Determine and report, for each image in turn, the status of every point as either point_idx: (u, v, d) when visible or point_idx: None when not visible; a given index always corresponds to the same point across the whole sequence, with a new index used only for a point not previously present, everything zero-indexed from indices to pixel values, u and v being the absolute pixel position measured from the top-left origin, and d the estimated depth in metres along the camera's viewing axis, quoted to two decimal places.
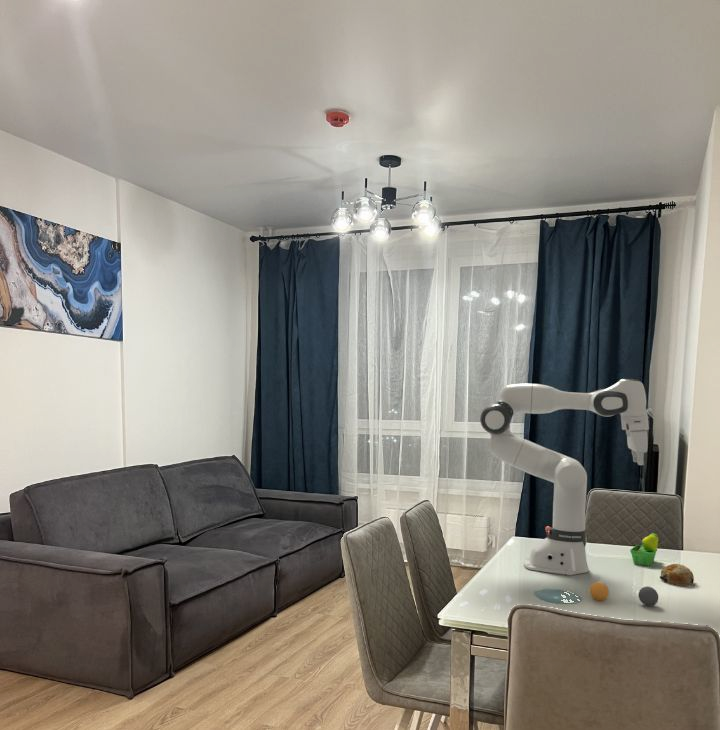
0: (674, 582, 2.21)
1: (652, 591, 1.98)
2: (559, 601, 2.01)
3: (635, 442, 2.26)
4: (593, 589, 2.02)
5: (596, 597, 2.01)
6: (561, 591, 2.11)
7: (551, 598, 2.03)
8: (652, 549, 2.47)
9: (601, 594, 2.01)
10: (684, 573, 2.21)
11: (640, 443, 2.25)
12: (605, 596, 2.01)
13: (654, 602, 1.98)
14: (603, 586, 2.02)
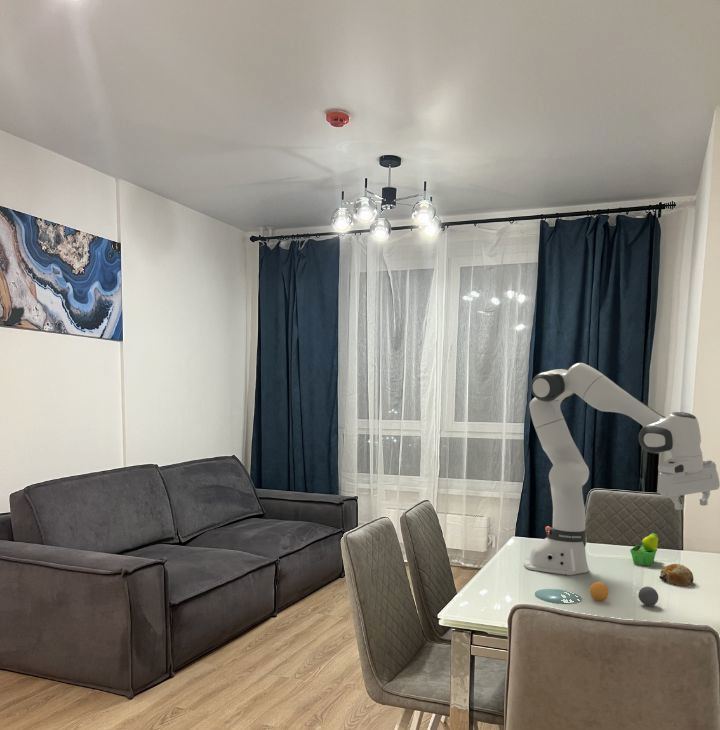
0: (674, 582, 2.22)
1: (652, 591, 1.98)
2: (559, 601, 2.01)
3: (658, 484, 2.09)
4: (593, 589, 2.02)
5: (596, 597, 2.01)
6: (561, 591, 2.11)
7: (551, 598, 2.03)
8: (652, 549, 2.47)
9: (601, 594, 2.01)
10: (684, 573, 2.21)
11: (661, 486, 2.08)
12: (605, 596, 2.01)
13: (654, 602, 1.98)
14: (603, 586, 2.02)
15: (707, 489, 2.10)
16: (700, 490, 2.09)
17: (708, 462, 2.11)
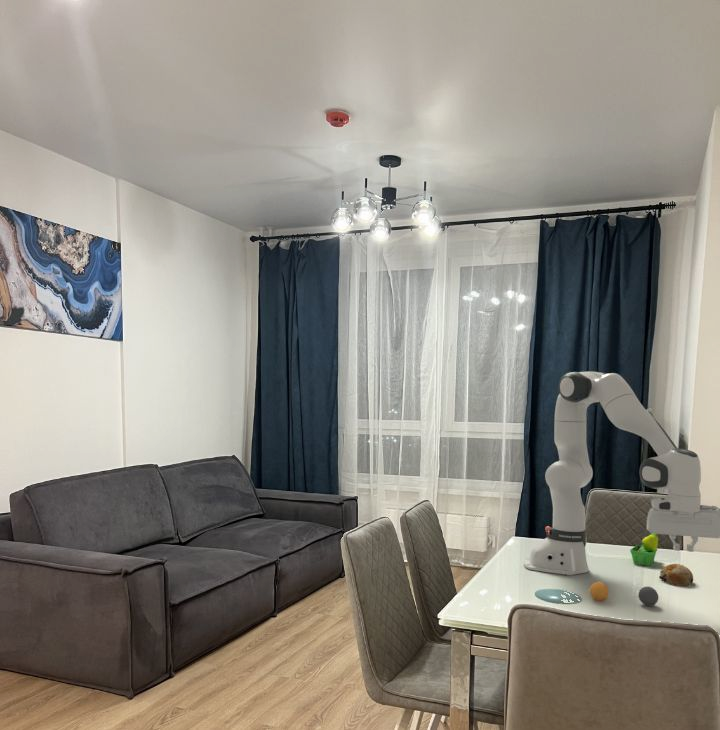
0: (673, 582, 2.22)
1: (652, 591, 1.98)
2: (559, 601, 2.01)
3: (647, 519, 2.02)
4: (593, 589, 2.02)
5: (596, 597, 2.01)
6: (561, 591, 2.11)
7: (551, 598, 2.03)
8: (652, 549, 2.47)
9: (601, 594, 2.01)
10: (683, 573, 2.21)
11: (647, 521, 2.01)
12: (605, 596, 2.01)
13: (654, 602, 1.98)
14: (603, 586, 2.02)
15: (703, 535, 1.95)
16: (693, 534, 1.96)
17: (711, 507, 1.96)
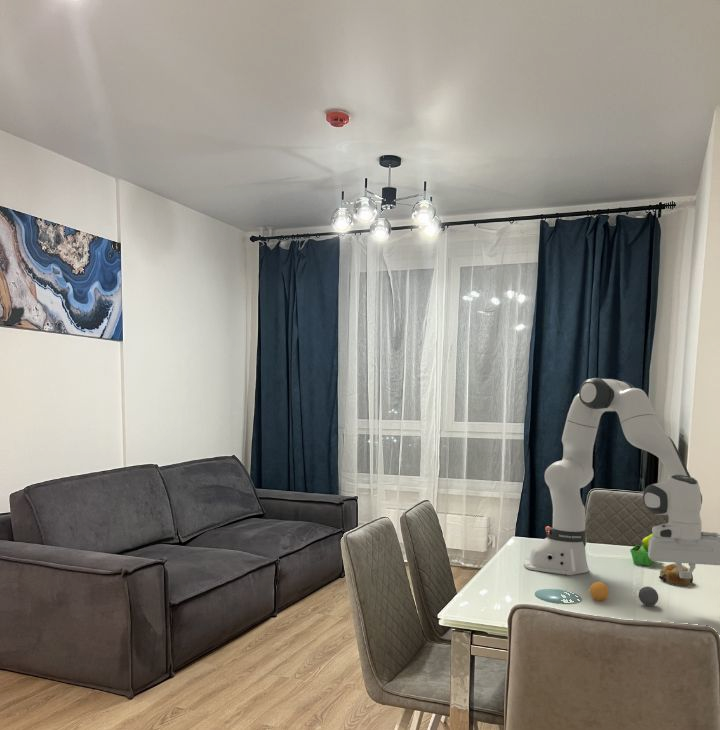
0: (673, 582, 2.22)
1: (652, 591, 1.98)
2: (559, 601, 2.01)
3: (648, 546, 2.02)
4: (593, 589, 2.02)
5: (596, 597, 2.01)
6: (561, 591, 2.11)
7: (551, 598, 2.03)
8: None
9: (601, 594, 2.01)
10: None
11: (649, 548, 2.00)
12: (605, 596, 2.01)
13: (654, 602, 1.98)
14: (603, 586, 2.02)
15: (705, 562, 1.95)
16: (695, 561, 1.95)
17: (712, 534, 1.96)
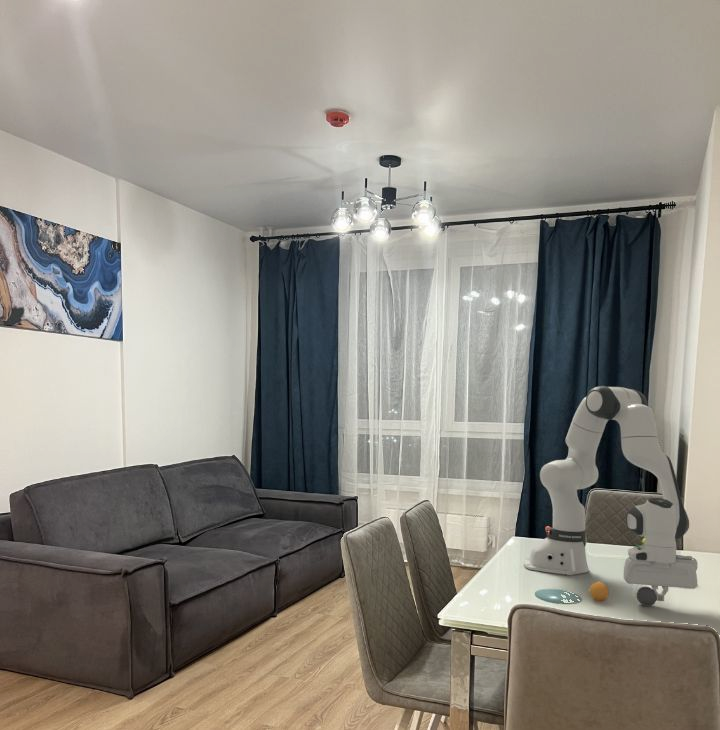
0: None
1: (648, 591, 1.98)
2: (559, 601, 2.01)
3: (624, 568, 2.03)
4: (593, 589, 2.02)
5: (596, 597, 2.01)
6: (561, 591, 2.11)
7: (551, 598, 2.03)
8: None
9: (601, 594, 2.01)
10: None
11: (624, 571, 2.02)
12: (605, 596, 2.01)
13: (653, 601, 1.98)
14: (603, 586, 2.02)
15: (679, 585, 1.97)
16: (669, 584, 1.97)
17: (687, 557, 1.98)
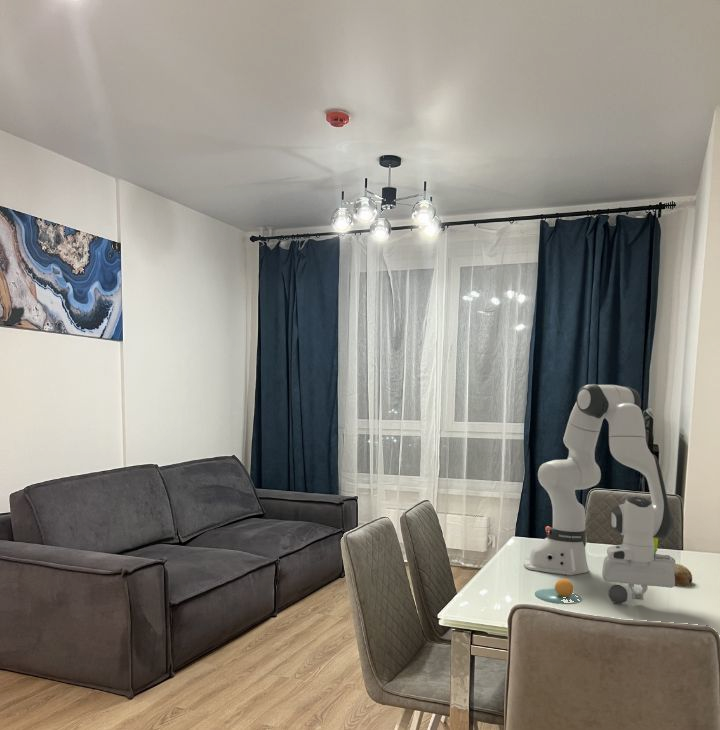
0: None
1: (614, 601, 2.00)
2: (559, 601, 2.01)
3: (603, 566, 2.05)
4: (571, 589, 2.04)
5: (564, 584, 2.04)
6: None
7: (551, 598, 2.03)
8: None
9: (563, 590, 2.03)
10: (682, 573, 2.22)
11: (603, 569, 2.03)
12: (558, 589, 2.04)
13: (616, 592, 1.99)
14: (564, 596, 2.04)
15: (657, 584, 1.98)
16: (647, 583, 1.98)
17: (665, 557, 1.99)
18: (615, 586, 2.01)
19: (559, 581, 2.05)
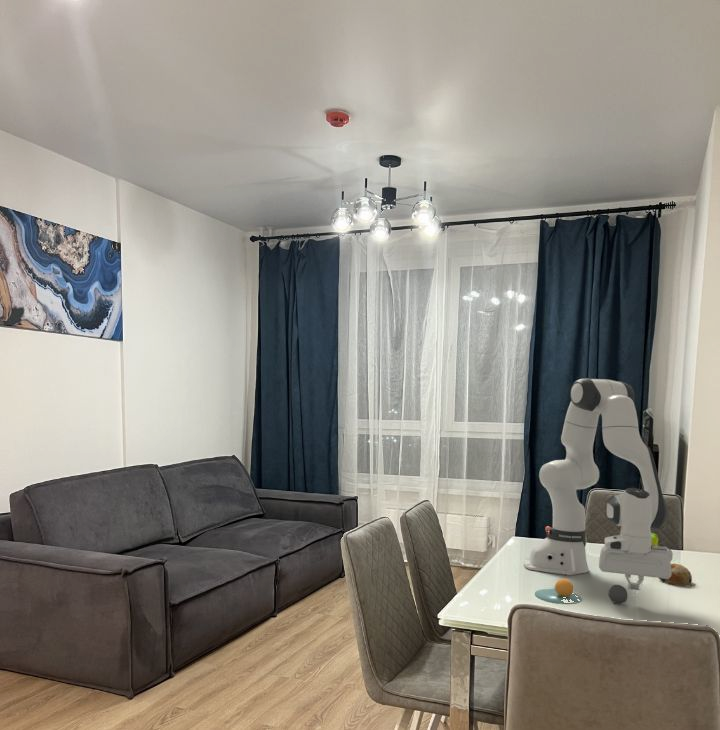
0: (672, 582, 2.22)
1: (614, 601, 2.00)
2: (559, 601, 2.01)
3: (600, 556, 2.06)
4: (571, 589, 2.04)
5: (564, 584, 2.04)
6: None
7: (551, 598, 2.03)
8: None
9: (563, 590, 2.03)
10: (682, 573, 2.22)
11: (599, 559, 2.04)
12: (558, 589, 2.04)
13: (616, 592, 1.99)
14: (564, 596, 2.04)
15: (653, 575, 1.98)
16: (643, 574, 1.99)
17: (662, 548, 1.99)
18: (615, 586, 2.01)
19: (559, 581, 2.05)
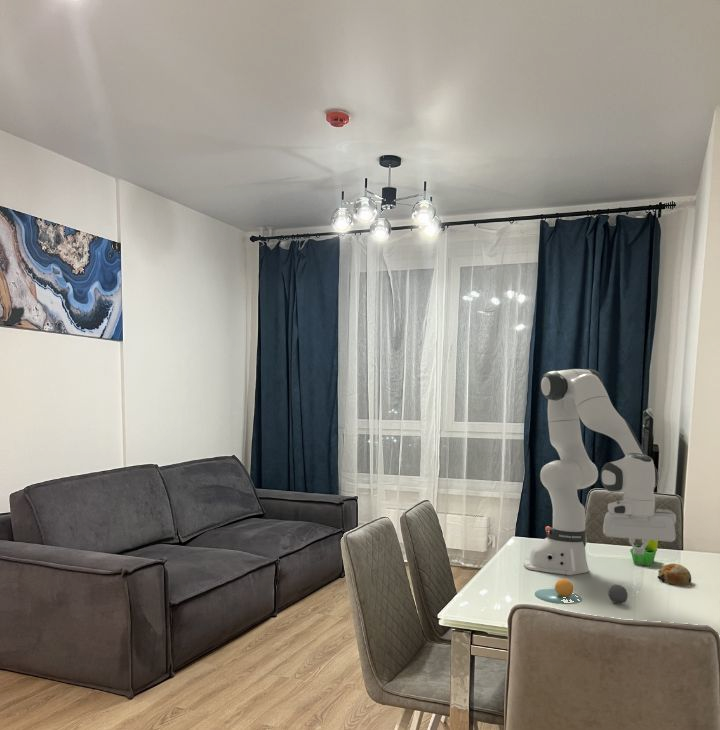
0: (672, 582, 2.22)
1: (614, 601, 2.00)
2: (559, 601, 2.01)
3: None
4: (571, 589, 2.04)
5: (564, 584, 2.04)
6: None
7: (551, 598, 2.03)
8: (652, 549, 2.47)
9: (563, 590, 2.03)
10: (681, 573, 2.22)
11: (603, 525, 2.04)
12: (558, 589, 2.04)
13: (616, 592, 1.99)
14: (564, 596, 2.04)
15: (657, 538, 1.98)
16: (648, 538, 1.99)
17: (666, 511, 1.99)
18: (615, 586, 2.01)
19: (559, 581, 2.05)
